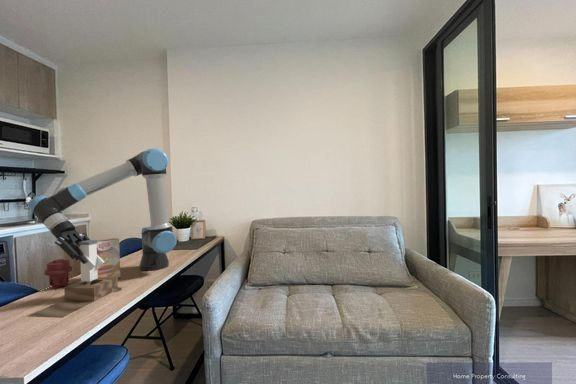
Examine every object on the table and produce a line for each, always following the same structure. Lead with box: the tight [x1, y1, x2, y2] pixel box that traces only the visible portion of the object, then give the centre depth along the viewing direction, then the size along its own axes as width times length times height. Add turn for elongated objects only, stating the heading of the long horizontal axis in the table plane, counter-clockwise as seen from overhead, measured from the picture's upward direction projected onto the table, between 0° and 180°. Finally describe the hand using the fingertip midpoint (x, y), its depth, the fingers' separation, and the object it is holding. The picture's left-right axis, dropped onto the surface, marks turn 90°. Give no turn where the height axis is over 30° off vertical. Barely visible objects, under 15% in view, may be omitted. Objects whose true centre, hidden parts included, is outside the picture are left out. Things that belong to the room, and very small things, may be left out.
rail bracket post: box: [79, 239, 99, 281], centre depth 120 cm, size 5×5×16 cm
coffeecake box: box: [97, 237, 121, 278], centre depth 143 cm, size 15×7×20 cm, turn 150°
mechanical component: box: [44, 258, 73, 290], centre depth 134 cm, size 12×10×10 cm
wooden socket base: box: [26, 277, 123, 319], centre depth 114 cm, size 29×14×6 cm, turn 173°
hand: (97, 266), depth 119 cm, fingers closed on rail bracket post, 4 cm apart
